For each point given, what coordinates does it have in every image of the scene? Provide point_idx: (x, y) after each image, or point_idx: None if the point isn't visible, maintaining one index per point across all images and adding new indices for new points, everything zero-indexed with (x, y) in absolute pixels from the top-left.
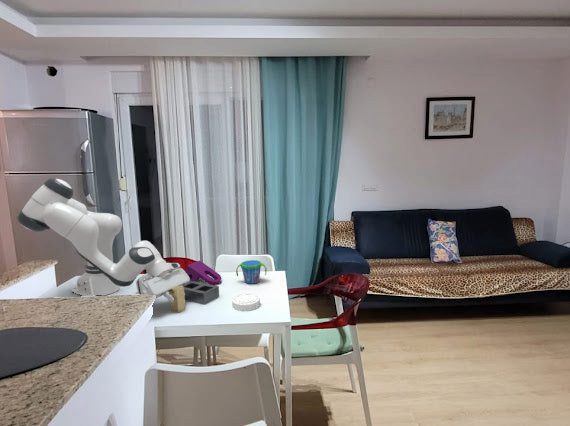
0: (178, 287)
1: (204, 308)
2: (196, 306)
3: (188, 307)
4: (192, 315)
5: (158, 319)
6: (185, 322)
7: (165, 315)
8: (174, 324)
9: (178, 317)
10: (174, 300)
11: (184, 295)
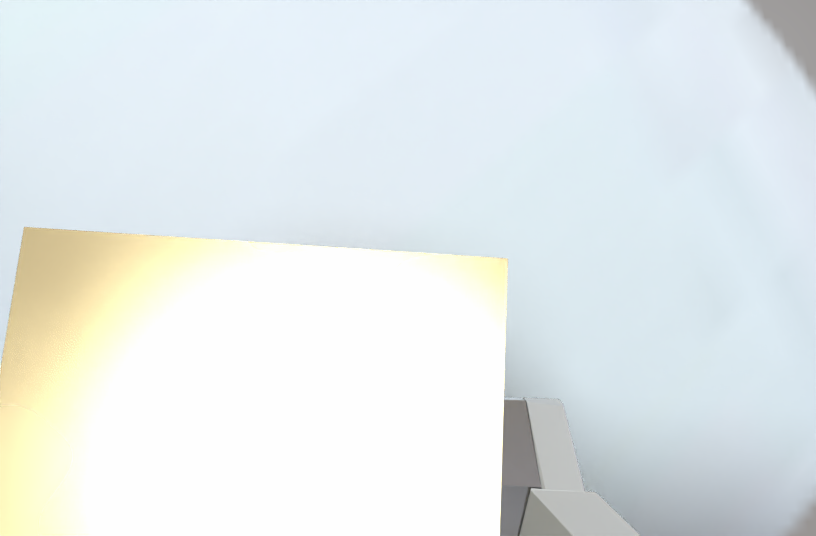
0: (177, 440)
1: (77, 40)
2: None
3: None
4: (400, 58)
5: (792, 518)
6: (649, 2)
7: None
8: (783, 115)
9: (564, 228)
10: None
11: None
